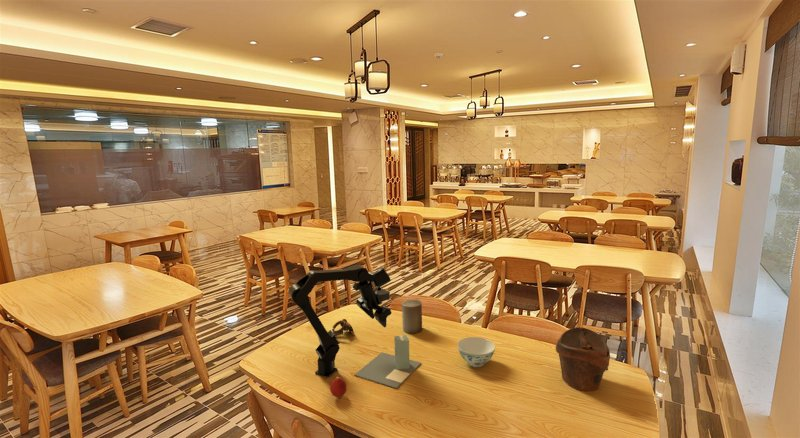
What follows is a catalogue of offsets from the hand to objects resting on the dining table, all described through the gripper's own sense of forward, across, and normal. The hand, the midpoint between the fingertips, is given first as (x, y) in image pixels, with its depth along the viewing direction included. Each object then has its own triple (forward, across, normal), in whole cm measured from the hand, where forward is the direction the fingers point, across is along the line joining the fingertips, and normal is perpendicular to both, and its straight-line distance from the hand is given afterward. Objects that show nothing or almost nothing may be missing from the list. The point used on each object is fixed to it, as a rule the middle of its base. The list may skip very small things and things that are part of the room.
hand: (379, 322), depth 168 cm
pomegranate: (+3, -18, +31) cm, 36 cm away
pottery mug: (+15, +26, +9) cm, 31 cm away
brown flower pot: (+27, -64, -41) cm, 81 cm away
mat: (+12, -13, +9) cm, 19 cm away
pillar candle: (+24, +10, -19) cm, 32 cm away
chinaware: (+22, -31, -21) cm, 43 cm away
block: (+13, -15, +3) cm, 20 cm away
